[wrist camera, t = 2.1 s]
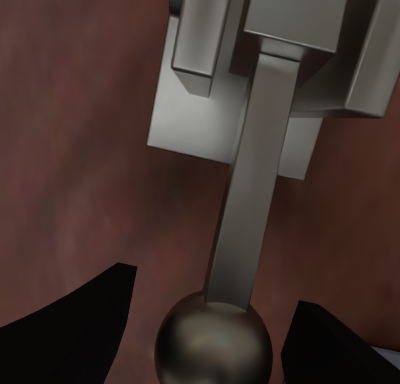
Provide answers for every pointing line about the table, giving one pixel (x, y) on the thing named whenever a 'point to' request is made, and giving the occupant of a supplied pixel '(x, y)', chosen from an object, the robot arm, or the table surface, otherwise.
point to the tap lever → (248, 196)
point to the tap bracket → (236, 85)
